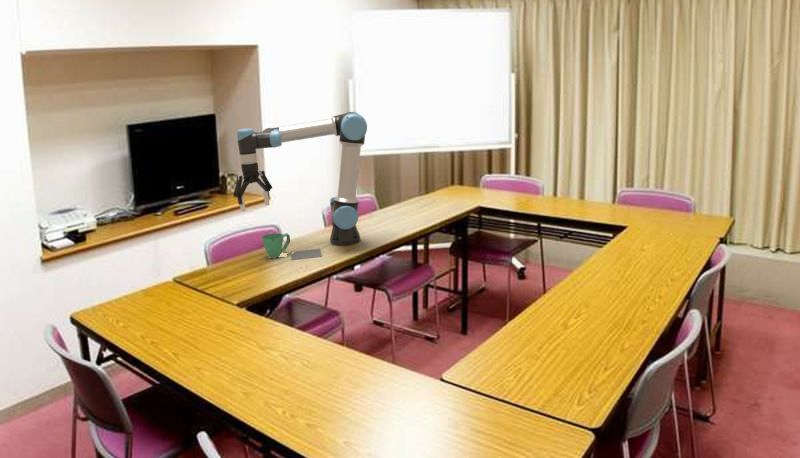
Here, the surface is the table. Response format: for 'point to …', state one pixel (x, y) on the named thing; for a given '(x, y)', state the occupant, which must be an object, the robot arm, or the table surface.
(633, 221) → the table surface
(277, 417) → the table surface
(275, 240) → the mug
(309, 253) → the slate mat
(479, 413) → the table surface
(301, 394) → the table surface
